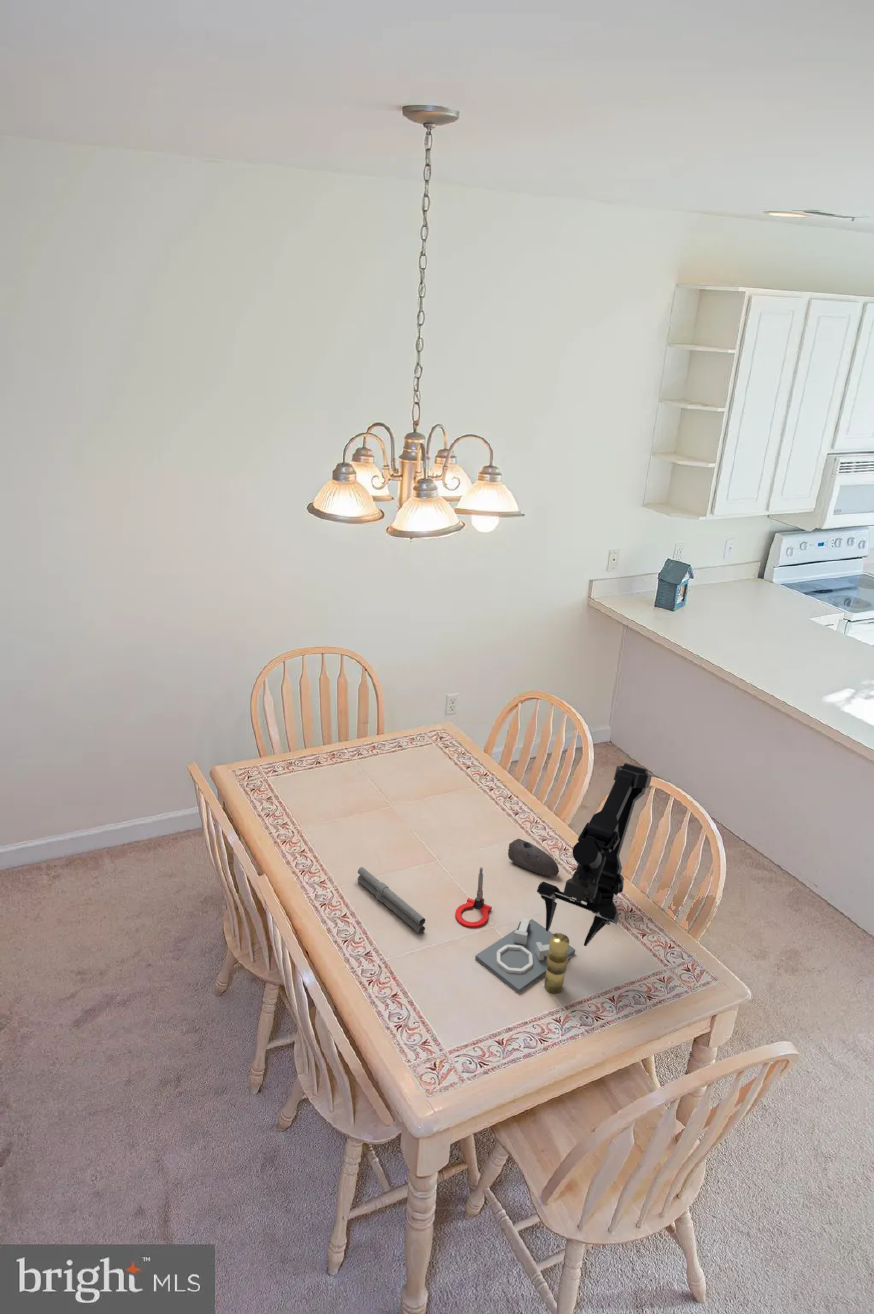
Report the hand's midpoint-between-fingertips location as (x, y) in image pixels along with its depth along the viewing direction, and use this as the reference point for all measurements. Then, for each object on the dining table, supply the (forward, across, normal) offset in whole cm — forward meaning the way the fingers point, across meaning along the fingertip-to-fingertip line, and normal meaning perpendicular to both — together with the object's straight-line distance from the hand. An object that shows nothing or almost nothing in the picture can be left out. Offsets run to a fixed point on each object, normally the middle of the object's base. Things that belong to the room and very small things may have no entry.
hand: (565, 938), depth 200 cm
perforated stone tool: (-16, -21, +32) cm, 41 cm away
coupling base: (+7, -10, +9) cm, 15 cm away
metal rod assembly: (+8, -47, +8) cm, 48 cm away
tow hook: (+3, -27, +13) cm, 30 cm away
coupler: (+11, 0, +5) cm, 12 cm away
